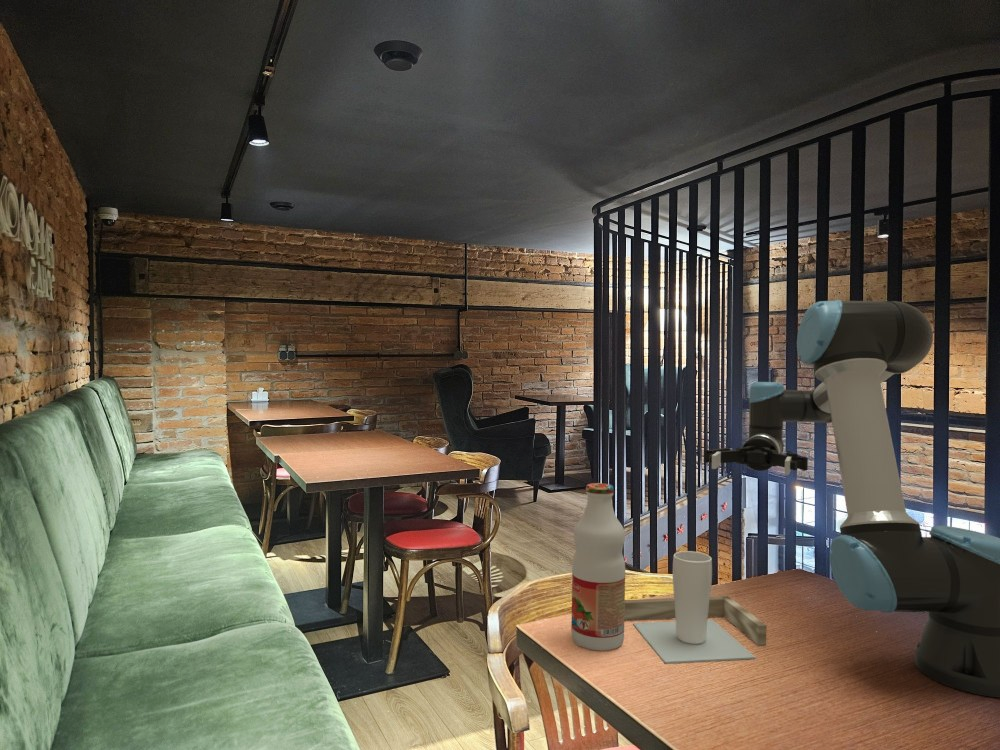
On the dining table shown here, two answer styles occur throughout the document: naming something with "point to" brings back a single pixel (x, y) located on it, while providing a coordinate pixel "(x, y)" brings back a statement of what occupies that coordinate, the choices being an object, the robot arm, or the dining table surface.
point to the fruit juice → (598, 574)
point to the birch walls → (717, 608)
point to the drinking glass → (691, 595)
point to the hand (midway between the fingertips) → (749, 465)
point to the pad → (677, 651)
